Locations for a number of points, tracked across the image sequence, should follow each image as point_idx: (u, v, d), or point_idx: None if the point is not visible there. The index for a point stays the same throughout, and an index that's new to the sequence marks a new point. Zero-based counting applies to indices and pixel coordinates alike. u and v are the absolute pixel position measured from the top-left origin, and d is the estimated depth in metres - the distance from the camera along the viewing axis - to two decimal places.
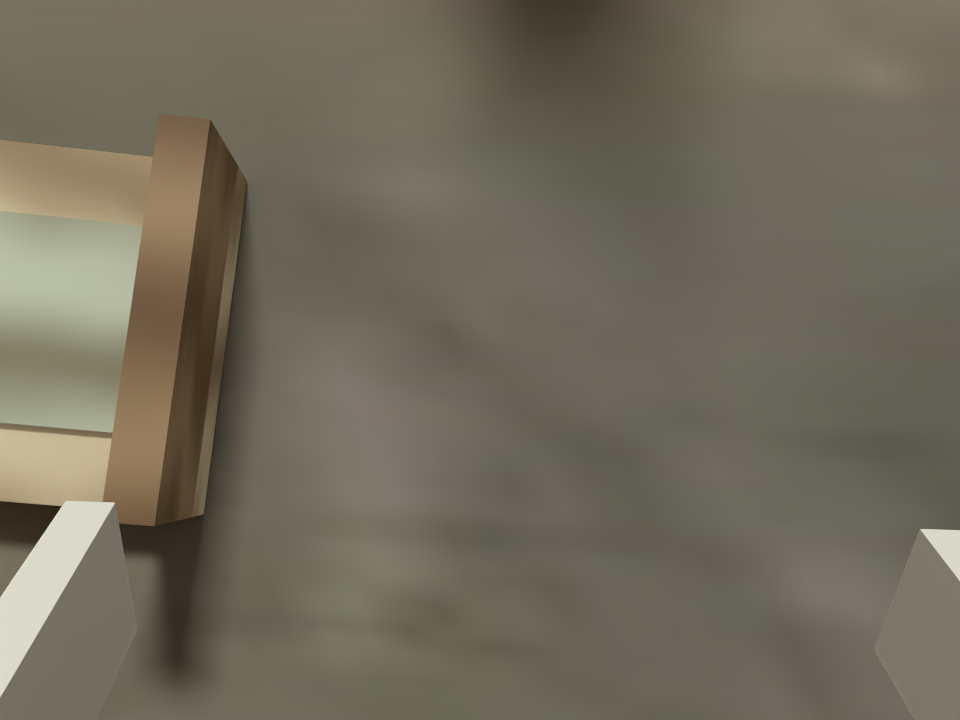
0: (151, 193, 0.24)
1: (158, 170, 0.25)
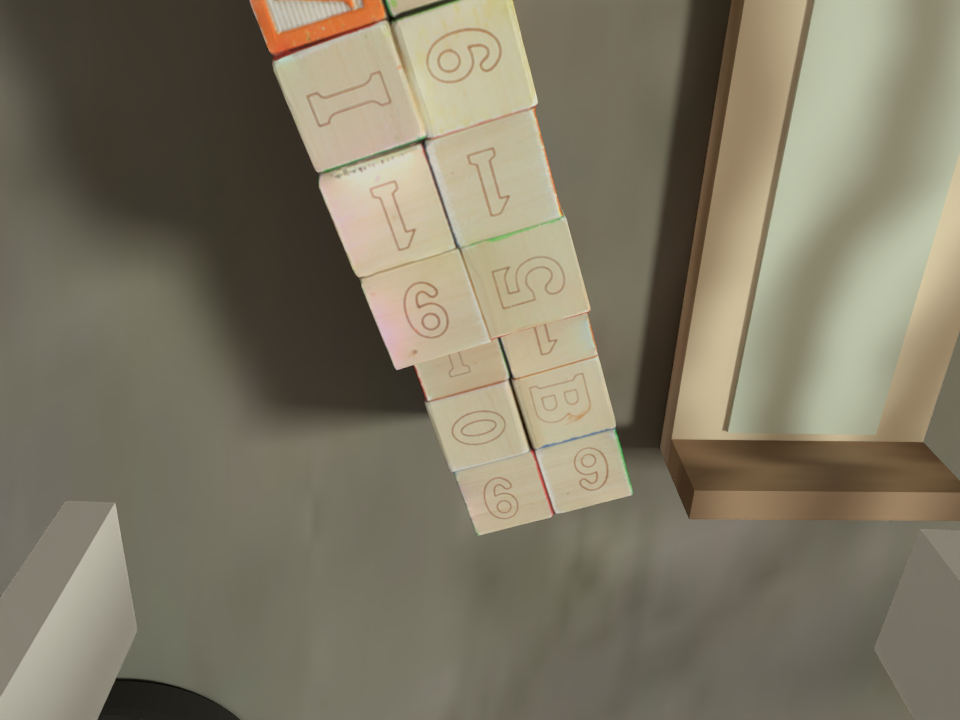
0: (914, 493, 0.36)
1: (929, 496, 0.36)
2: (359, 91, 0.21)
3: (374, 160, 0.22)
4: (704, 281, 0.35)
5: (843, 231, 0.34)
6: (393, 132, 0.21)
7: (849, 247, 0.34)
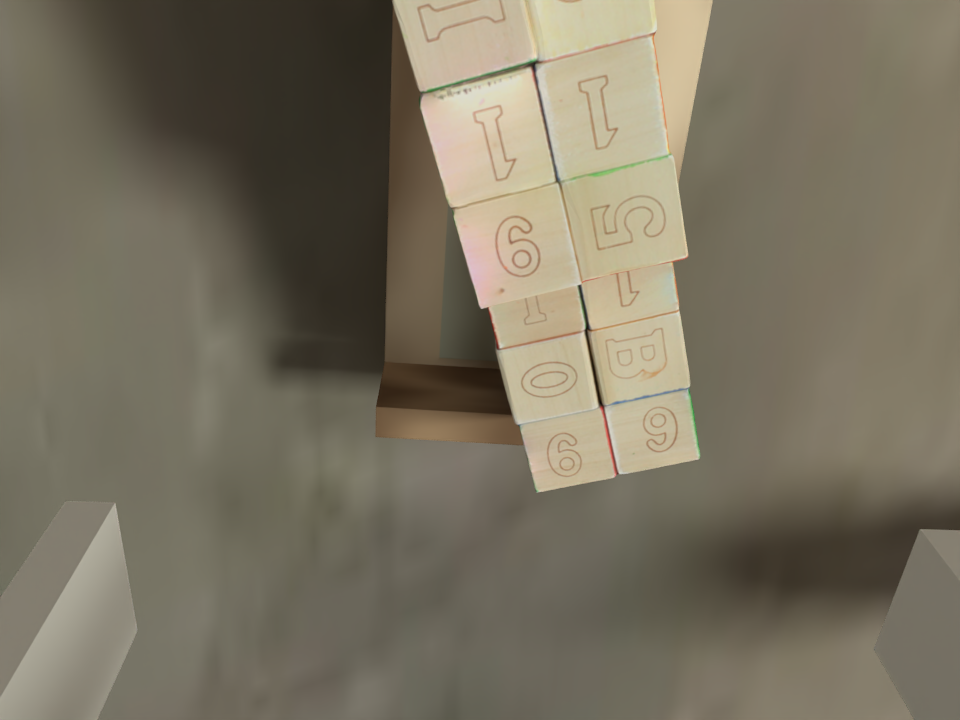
0: None
1: None
2: (473, 5, 0.20)
3: (480, 82, 0.21)
4: (394, 197, 0.35)
5: None
6: (504, 53, 0.20)
7: None
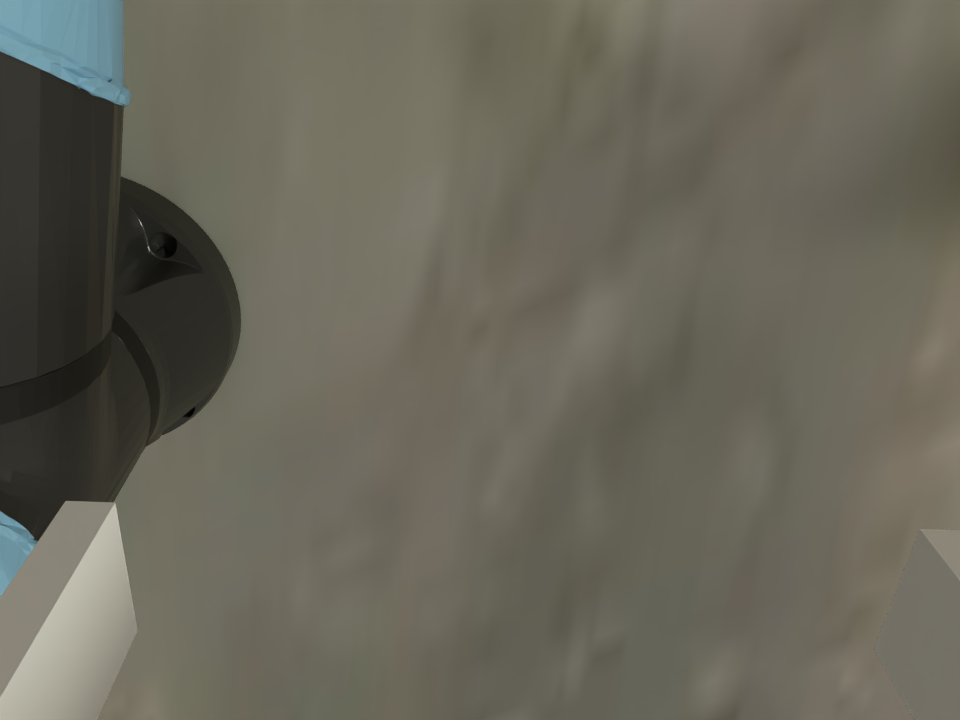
0: None
1: None
2: None
3: None
4: None
5: None
6: None
7: None
